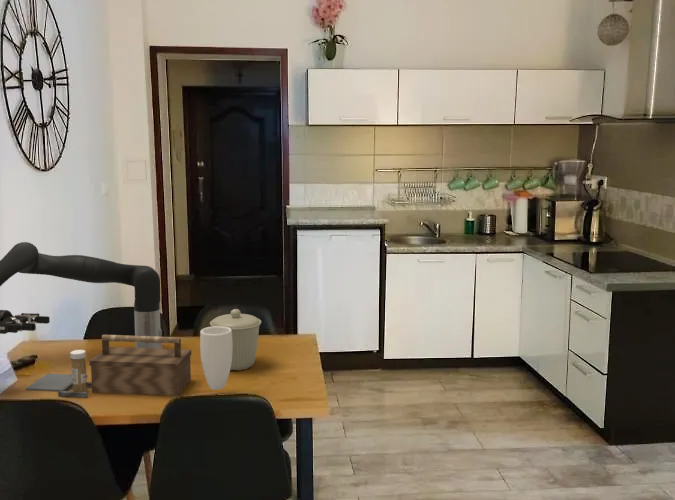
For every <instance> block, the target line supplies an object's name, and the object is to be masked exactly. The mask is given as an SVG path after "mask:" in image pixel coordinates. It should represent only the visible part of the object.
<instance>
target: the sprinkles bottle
mask: <svg viewBox="0 0 675 500" xmlns="http://www.w3.org/2000/svg"><path fill="white" fill-rule="evenodd" d="M69 355H70V356H69V358H70V363H71V365H70V366H71V374H72V383H73V388H72V392H87V393H88V388H87V382H88V381H87V379H88V376H87V377H86V375H87V366H86V362H87V361H86V356H87V354H86V350H84V349H74V350H72V351H70V353H69Z"/></svg>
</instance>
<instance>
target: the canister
mask: <svg viewBox="0 0 675 500" xmlns="http://www.w3.org/2000/svg"><path fill="white" fill-rule="evenodd" d="M261 324H262V320H261V319H260V318H258V317H256V316H255V315H252V314H247V313H242V312H241V310H240V309H238V308H234V309H231V310H230V313H227V314H222V315H219V316H217V317H215V318H214V319H212V320H211V321H210V322H209V325H210V327H213V326H223V327H228V328H230V329H231V330H232V343H233V350H232V363H231V368H230V371H232V370H237V371H243V370H242V369H244V370H247V369H249V367H250V368H251V367H252V366H253V365H254V364H255V361H256V358H257V351H258V350H257V349H258V343H259V342H258V341H259V330H260V325H261Z"/></svg>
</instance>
